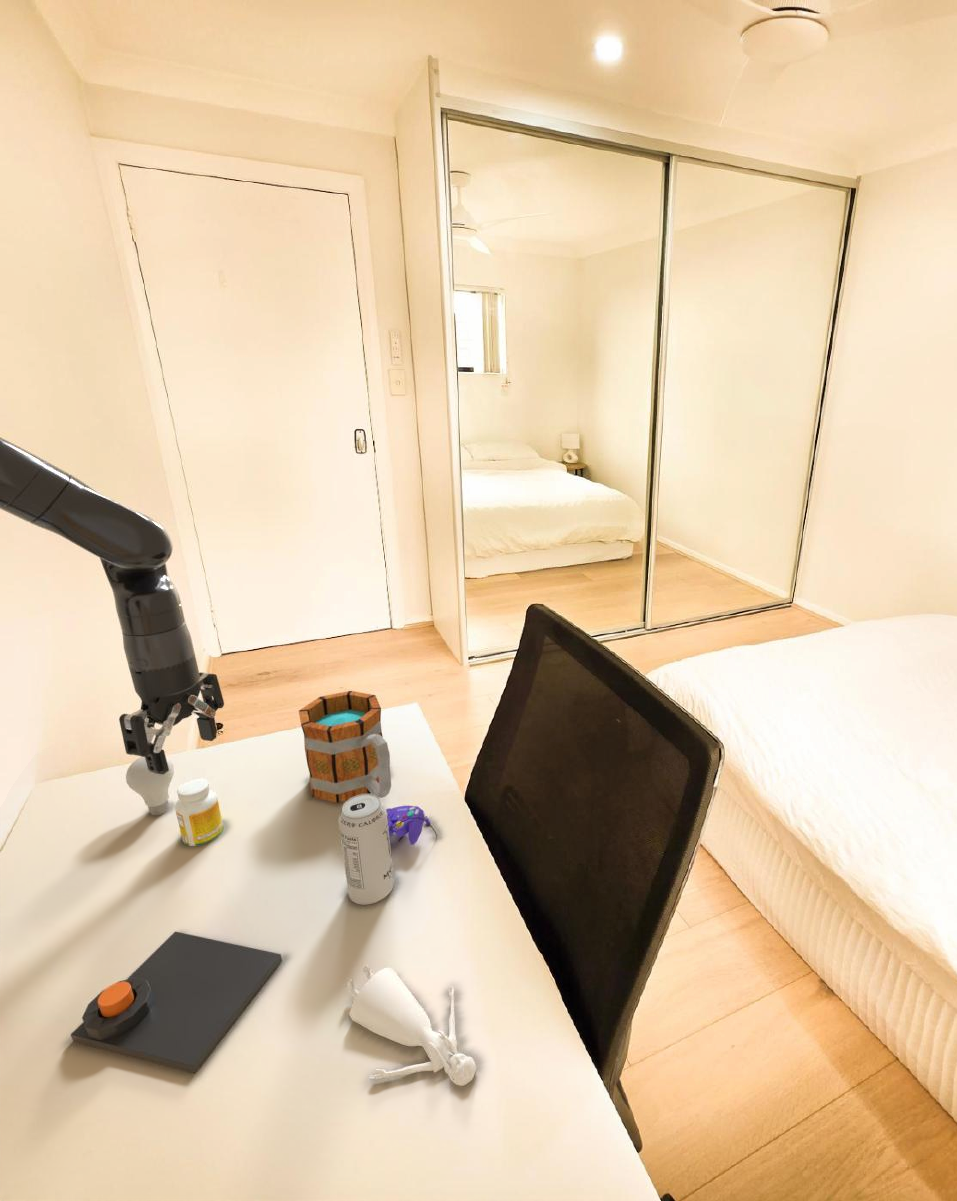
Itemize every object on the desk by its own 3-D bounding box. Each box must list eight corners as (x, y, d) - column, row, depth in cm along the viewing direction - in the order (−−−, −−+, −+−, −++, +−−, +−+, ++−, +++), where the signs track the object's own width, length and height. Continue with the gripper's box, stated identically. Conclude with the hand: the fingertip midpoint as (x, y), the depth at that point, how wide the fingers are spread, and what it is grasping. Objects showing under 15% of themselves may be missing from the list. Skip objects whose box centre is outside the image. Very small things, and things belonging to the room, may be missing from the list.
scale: (74, 1047, 63) (65, 1024, 62) (178, 942, 75) (172, 921, 74) (196, 1078, 60) (189, 1055, 59) (283, 965, 73) (279, 944, 71)
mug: (293, 785, 105) (281, 711, 100) (362, 752, 115) (354, 683, 110) (354, 835, 94) (343, 755, 89) (424, 793, 104) (419, 719, 99)
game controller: (346, 843, 87) (378, 790, 95) (372, 877, 91) (401, 824, 99) (403, 838, 84) (431, 784, 93) (427, 874, 88) (452, 819, 96)
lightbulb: (174, 797, 101) (160, 742, 97) (189, 812, 97) (176, 755, 94) (131, 816, 96) (115, 759, 92) (146, 832, 93) (130, 773, 89)
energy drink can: (398, 899, 82) (389, 811, 77) (353, 916, 79) (340, 826, 74) (389, 870, 87) (380, 785, 82) (346, 885, 84) (333, 799, 79)
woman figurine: (397, 929, 73) (510, 1015, 64) (398, 954, 74) (508, 1042, 66) (310, 1007, 63) (429, 1120, 55) (313, 1034, 65) (430, 1148, 57)
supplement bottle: (175, 849, 90) (162, 797, 86) (198, 825, 95) (186, 774, 91) (211, 850, 90) (198, 798, 86) (232, 826, 95) (221, 776, 92)
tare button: (94, 1014, 63) (90, 1003, 62) (119, 990, 66) (115, 979, 65) (116, 1020, 63) (112, 1008, 62) (140, 995, 65) (137, 984, 65)
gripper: (181, 633, 89) (203, 726, 94) (88, 675, 76) (119, 781, 81) (225, 638, 88) (244, 732, 93) (137, 682, 74) (165, 789, 80)
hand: (185, 755), depth 87 cm, fingers open, 8 cm apart
